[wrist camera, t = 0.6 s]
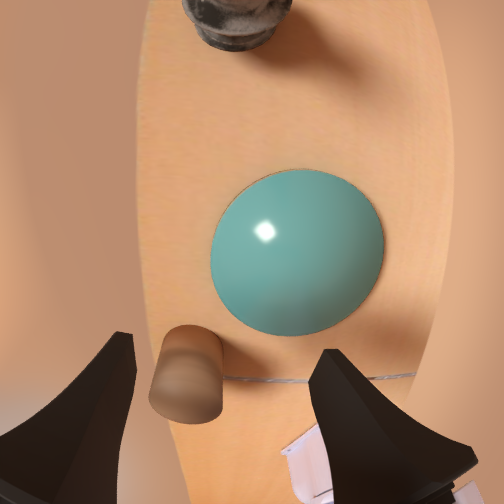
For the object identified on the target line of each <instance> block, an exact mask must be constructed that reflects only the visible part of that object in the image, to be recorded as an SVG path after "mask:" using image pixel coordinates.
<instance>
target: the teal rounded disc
mask: <svg viewBox="0 0 504 504" xmlns="http://www.w3.org/2000/svg"><path fill="white" fill-rule="evenodd" d="M383 252H384V239H383V232H382V228H381V224H380V221H379V218H378V216H377V214H376V211H375V210H374V208H373V206H372V205H371V203H370V202H369V200H368V199H367V198H366V197H365V196H364V195H363V194H362V193H361V192H360V191H359V190H358V189H357V188H356V187H354V186H353V185H351V184H350V183H348V182H347V181H345V180H343V179H341V178H339V177H336V176H334V175H331V174H328V173H325V172H321V171H317V170H310V169H291V170H285V171H279V172H276V173H273V174H270V175H267V176H265V177H263V178H261V179H259V180H257V181H255V182H254V183H252V184H251V185H249V186H248V187H246V188H245V189H244V190H243V191H242V192H241V193H239V194H238V195H237V196H236V197H235V198H234V200H233V201H232V202H231V203H230V204H229V205H228V207H227V208H226V210H225V212H224V213H223V215H222V217H221V219H220V221H219V223H218V225H217V228H216V231H215V234H214V238H213V244H212V250H211V273H212V279H213V282H214V286H215V288H216V291H217V293H218V295H219V297H220V299H221V300H222V302H223V303H224V305H225V306H226V307H227V309H228V310H229V311H230V312H231V313H232V314H233V315H234V316H235V317H236V318H237V319H239V320H240V321H241V322H243V323H244V324H246V325H247V326H249V327H251V328H253V329H256V330H258V331H261V332H264V333H267V334H272V335H277V336H301V335H308V334H312V333H316V332H319V331H322V330H324V329H327V328H329V327H331V326H333V325H335V324H337V323H338V322H340V321H342V320H343V319H345V318H346V317H347V316H349V315H350V314H351V313H352V312H353V311H354V310H355V309H357V308H358V307H359V306H360V304H361V303H362V302H363V301H364V300H365V298H366V297H367V296H368V294H369V293H370V291H371V290H372V288H373V286H374V284H375V282H376V280H377V277H378V275H379V272H380V269H381V265H382V261H383Z"/></svg>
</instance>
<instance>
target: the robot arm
mask: <svg viewBox="0 0 504 504" xmlns="http://www.w3.org/2000/svg"><path fill="white" fill-rule="evenodd" d="M136 373H137V367H136V360H135V352H134V343H133V334H129V333H123V332H118V331H117V332H115V333H114V334H113V335H112V337H111V338H110V339H109V340H108V342H107V343H106V344H105V345H104V347H103V348H102V349H101V350H100V351H99V353H98V354H97V355H96V356H95V357H94V359H93V360H92V361H91V362H90V363H89V364H88V365H87V366H86V368H85V369H84V370H83V371H82V372H81V373H80V374H79V375H78V376H77V377H76V378H75V379H74V380H73V382H71V383H70V384H69V386H68V387H67V388H66V389H64V390H63V391H62V392H61V393H60V394H59V395H58V396H57V397H56V398H55V399H54V400H52V401H51V402H50V403H49V404H48V405H46V406H45V407H44V408H43V409H41V410H40V411H39V412H37V413H36V414H35V415H34V416H32V417H31V418H29V419H28V420H26V421H25V422H23V423H22V424H20V425H18V426H17V427H16V428H14V429H12V430H11V431H9V432H7V433H5V434H4V435H2V436H0V504H117V473H118V461H119V451H120V445H121V440H122V436H123V431H124V427H125V424H126V420H127V416H128V412H129V408H130V405H131V401H132V397H133V393H134V386H135V380H136ZM308 384H309V390H310V396H311V402H312V406H313V409H314V412H315V416H316V419H317V422H318V423H317V424H316V425H314V426H313V427H312V428H311V429H310V430H308V431H307V432H306V433H304V434H303V435H302V436H301V437H299V438H298V439H297V440H295V441H294V442H293V443H291V444H290V445H289V446H287V447H286V448H285V449H283V450H282V451H281V454H282V455H287V461H288V466H289V472H290V477H291V483H292V488H293V491H294V493H295V495H296V497H297V498H298V499H299V500H300V501H301V502H303V503H305V504H484V502H483V499H482V497H481V495H480V493H479V490H478V488H477V486H476V484H475V482H474V480H471V481H470V482H469V483H467V484H465V485H464V486H462V487H461V488H459V489H458V490H456V491H455V492H453V493H452V491H451V489H452V488H454V487H455V485H454V483H453V481H454V480H456V479H457V478H458V477H460V476H461V475H463V474H464V473H466V472H467V471H468V470H470V469H471V468H473V467H474V466H475V465H476V464H477V463H478V459H477V457H476V455H475V454H474V451H473V449H472V448H471V447H470V446H467V445H464V444H462V443H459V442H456V441H453V440H450V439H448V438H446V437H444V436H442V435H440V434H438V433H436V432H434V431H432V430H430V429H429V428H427V427H425V426H424V425H422V424H420V423H419V422H417V421H416V420H414V419H413V418H411V417H410V416H409V415H407V414H406V413H405V412H403V411H402V410H401V409H399V408H398V407H397V406H396V405H394V404H393V403H392V402H391V401H390V400H389V399H388V398H386V397H385V396H384V395H383V394H382V393H381V392H380V391H379V390H378V389H377V388H376V387H375V386H374V385H373V384H372V383H371V382H370V381H369V380H368V379H367V378H366V377H365V376H364V375H363V374H362V373H361V372H360V371H359V370H358V369H357V368H356V367H355V366H354V365H353V364H352V363H351V362H350V361H349V360H348V359H347V358H346V356H345V355H344V354H343V353H342V352H341V351H340V350H338V349H324V351H323V353H322V355H321V357H320V359H319V361H318V363H317V365H316V367H315V369H314V371H313V373H312V375H311V377H310V379H309V381H308Z"/></svg>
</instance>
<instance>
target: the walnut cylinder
mask: <svg viewBox="0 0 504 504" xmlns="http://www.w3.org/2000/svg"><path fill="white" fill-rule="evenodd" d="M149 402H150V404H151V406H152V408H153V409H154V410H155V411H156V412H157V413H159V414H160V415H161V416H163V417H165V418H167V419H169V420H172V421H175V422H178V423H183V424H202V423H207V422H210V421H212V420H214V419H216V418H217V417H218V416H219V415H220V414H221V412H222V409H223V346H222V343H221V341H220V339H219V338H218V337H217V336H216V335H215V334H214V333H213V332H211V331H210V330H208V329H206V328H203V327H201V326H196V325H182V326H178V327H175V328H173V329H172V330H170V331H169V332H168V333H167V334H166V336H165V338H164V340H163V344H162V347H161V351H160V354H159V358H158V362H157V365H156V369H155V373H154V377H153V380H152V384H151V388H150V393H149Z"/></svg>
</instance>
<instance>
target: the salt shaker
mask: <svg viewBox="0 0 504 504" xmlns="http://www.w3.org/2000/svg"><path fill="white" fill-rule="evenodd" d="M291 4H292V0H182V5H183V8H184V10H185V13H186V15H187V16H188V17H189V18H190V20H191V21H192V22H193V23H195V27H196V30H197V33H198V34H199V36H200V37H201V38H202V40H204V41H205V42H206V43H208V44H209V45H210V46H213V47H215V48H218V49H220V50H226V51H245V50H249V49H253V48H255V47H257V46H260V45H262V44H263V43H264V42H266V41H267V40H268V39H269V38H270V37H271V36H272V34H273V33H274V31H275V28H276V25H277V24H278V23H279V22H281V21H282V20H283V19H284V18H285V16H286V15H287V14H288V12H289V11H290V7H291Z"/></svg>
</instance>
